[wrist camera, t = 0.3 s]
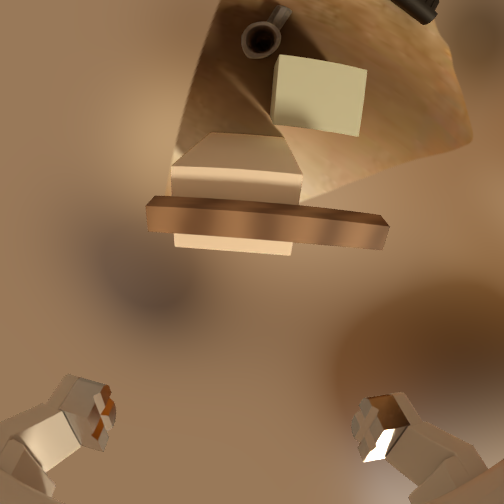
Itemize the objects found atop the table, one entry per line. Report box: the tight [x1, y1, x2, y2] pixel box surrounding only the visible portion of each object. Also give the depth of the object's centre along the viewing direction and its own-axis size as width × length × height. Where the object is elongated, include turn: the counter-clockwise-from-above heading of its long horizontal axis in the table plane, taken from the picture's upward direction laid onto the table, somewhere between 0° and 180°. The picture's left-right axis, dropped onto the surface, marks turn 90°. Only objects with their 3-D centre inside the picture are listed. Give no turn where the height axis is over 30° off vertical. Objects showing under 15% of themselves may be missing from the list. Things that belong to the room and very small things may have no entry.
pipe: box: [241, 5, 292, 59], centre depth 37 cm, size 6×13×8 cm, turn 154°
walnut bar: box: [146, 196, 390, 250], centre depth 30 cm, size 26×3×3 cm, turn 86°
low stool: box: [270, 55, 367, 137], centre depth 39 cm, size 12×10×16 cm
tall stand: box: [171, 133, 303, 255], centre depth 42 cm, size 14×10×26 cm
